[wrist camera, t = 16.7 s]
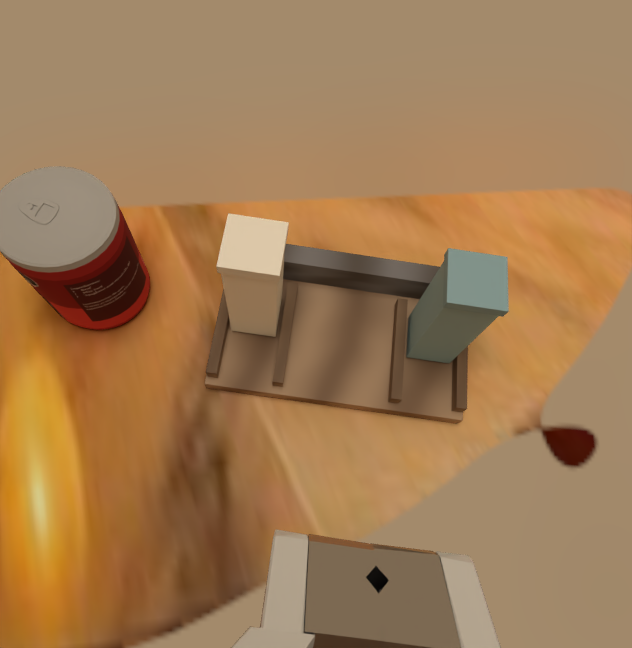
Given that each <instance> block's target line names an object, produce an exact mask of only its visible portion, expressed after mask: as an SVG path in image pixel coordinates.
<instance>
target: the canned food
mask: <svg viewBox="0 0 632 648" xmlns="http://www.w3.org/2000/svg"><path fill="white" fill-rule="evenodd" d="M0 252H1V253H2V254H3V256H4V257H5V258H6V259H7V260H8V261H9V262H10V263H11V265H12V266H13V267H14V268H15V269H16V270H17V271H18V272H19V273H20V274H21V275H22V276H23V277H24V278H25V279H26V280H27V281H28V282H29V283H30V284H31V285H32V286H33V288H34V289H35V290H36V291H37V292H38V293H39V294H40V295H41V296H42V297H43V298H44V299H45V300H46V301H47V302H48V303H49V304H50V305H51V306H52V307H53V308H54V309H55V310H56V311H57V313H58V314H59V315H60V316H62V317H63V318H64V319H66V320H67V321H68V322H70V323H72V324H74V325H77V326H81V327H84V328H88V329H96V330H102V329H110V328H114V327H118V326H120V325H122V324H125V323H127V322H128V321H130V320H131V319H133V318H134V317H135V316H136V315H137V314H138V313H139V312H140V311H141V309H142V308H143V306H144V305H145V303H146V300H147V298H148V294H149V288H150V277H149V274H148V271H147V268H146V266H145V264H144V261H143V259H142V257H141V255H140V252H139V250H138V248H137V246H136V243H135V241H134V239H133V237H132V234H131V232H130V230H129V228H128V225H127V223H126V221H125V219H124V216H123V214H122V212H121V210H120V208H119V206H118V204H117V202H116V200H115V199H114V197H113V195H112V193H111V192H110V191H109V189H108V188H107V187H106V186H105V185H104V183H103V182H102V181H100V180H99V179H97V178H96V177H95V176H93V175H91V174H89V173H87V172H85V171H82V170H79V169H75V168H70V167H46V168H40V169H35V170H33V171H30V172H27V173H24V174H22V175H21V176H19V177H17V178H15V179H13V180H12V181H11V182H9V183H8V184H7V185H5V187H3V188H2V190H1V191H0Z"/></svg>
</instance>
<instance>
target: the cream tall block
mask: <svg viewBox="0 0 632 648" xmlns="http://www.w3.org/2000/svg"><path fill="white" fill-rule="evenodd" d="M288 225H289V222H282V221H275V220H269V219H262V218H255V217H249V216H242V215H236V214H229V213H228V217H227V222H226V226H225V231H224V235H223V240H222V244H221V249H220V253H219V258H218V262H217V272H218V273H221V276H222V281H223V287H224V292H225V297H226V303H227V308H228V314H229V319H230V325H231V330H232V331H237V332H244V333H251V334H258V335H265V336H272V337H276V331H277V325H278V319H279V313H280V307H281V301H282V289H283V270H284V252H285V246H286V240H287V234H288Z"/></svg>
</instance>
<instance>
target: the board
mask: <svg viewBox="0 0 632 648" xmlns="http://www.w3.org/2000/svg"><path fill="white" fill-rule="evenodd" d="M439 268H440V267H437V266H430V265H424V264H417V263H410V262H404V261H397V260H390V259H384V258H377V257H370V256H364V255H357V254H350V253H344V252H337V251H330V250H324V249H317V248H310V247H304V246H297V245H290V244H286V246H285V252H284V270H283V289H282V301H281V307H280V313H279V319H278V325H277V331H276V337H272V336H265V335H258V334H251V333H244V332H237V331H232V330H231V325H230V319H229V314H228V308H227V303H226V297H225V292H224V289H223V294H222V298H221V303H220V308H219V313H218V317H217V322H216V327H215V331H214V336H213V341H212V345H211V350H210V355H209V359H208V364H207V369H206V374H207V375H206V380H205V386H206V388H209V389H217V390H224V391H231V392H238V393H245V394H252V395H259V396H266V397H273V398H280V399H288V400H295V401H302V402H309V403H316V404H323V405H330V406H337V407H344V408H351V409H358V410H366V411H373V412H380V413H387V414H394V415H401V416H408V417H415V418H422V419H429V420H437V421H444V422H451V423H459V422H461V421H462V420H463V411H465V410H466V409H467V359H468V346H467V347H466V348H465V349H464V350H463V351H462V352H461V353H460V354H459V355H458V356H457V357H456V358H455V359H453V360H452V361H451V362H450V363H443V362H436V361H429V360H422V359H415V358H408V357H406V352H407V335H408V318H409V316H410V314H411V313H412V311H413V309H414V308H415V306H416V305H417V303H418V301H419V300H420V298H421V297H422V295H423V294H424V292H425V290H426V289H427V287H428V286H429V284H430V283H431V281H432V279H433V278H434V276H435V275H436V273H437V271H438V270H439Z"/></svg>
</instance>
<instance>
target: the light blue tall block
mask: <svg viewBox="0 0 632 648" xmlns="http://www.w3.org/2000/svg"><path fill="white" fill-rule="evenodd" d="M507 312H508V267H507V257H503V256H497V255H490V254H483V253H477V252H470V251H464V250H457V249H450V248H448V250H447V251H446V253H445V255H444V262H443V264H442V265H441V267H440V268H439V270H438V271H437V273H436V275H435V276H434V278H433V279H432V281H431V283H430V284H429V286H428V287H427V289H426V290H425V292H424V294H423V295H422V297H421V298H420V300H419V301H418V303H417V305H416V306H415V308H414V309H413V311H412V313H411V314H410V316H409V318H408V335H407V352H406V357H408V358H415V359H422V360H429V361H436V362H443V363H450V362H451V361H452V360H453V359H455V358H456V357H457V356H458V355H459V354H460V353H461V352H462V351H463V350H464V349H465V348H466V347H467V346H468V345H469V344H470V343H471V342H472V341H473V340H474V339H475V338H476V337H477V336H478V335H479V334H480V333H481V332H483V331H484V330H485V329H486V328H487V327H488V326H489V325H490V324H491V323H492V322H493V321H494V320H495V319H496V318H497V317H498V316H504V315H505V314H506V313H507Z"/></svg>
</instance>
